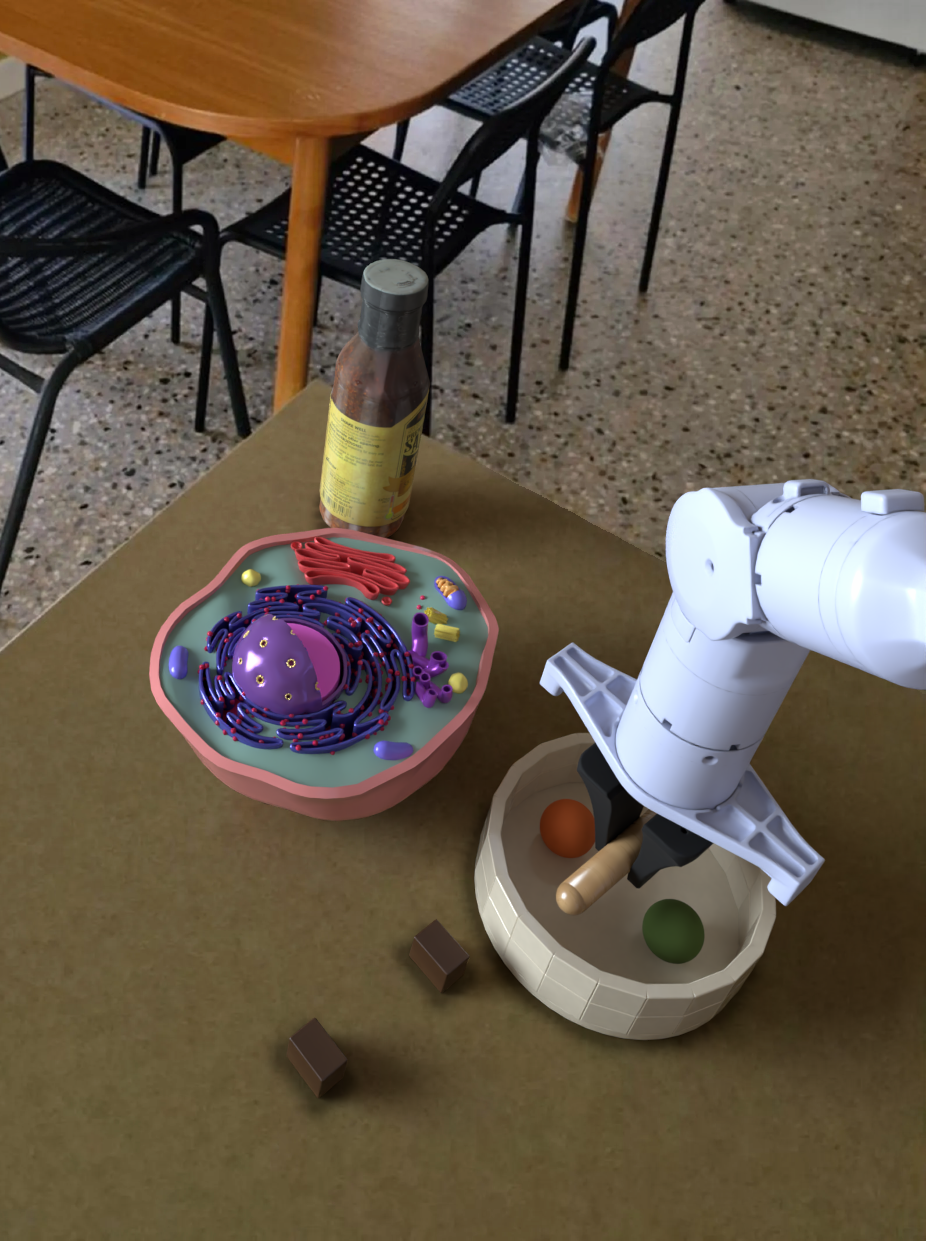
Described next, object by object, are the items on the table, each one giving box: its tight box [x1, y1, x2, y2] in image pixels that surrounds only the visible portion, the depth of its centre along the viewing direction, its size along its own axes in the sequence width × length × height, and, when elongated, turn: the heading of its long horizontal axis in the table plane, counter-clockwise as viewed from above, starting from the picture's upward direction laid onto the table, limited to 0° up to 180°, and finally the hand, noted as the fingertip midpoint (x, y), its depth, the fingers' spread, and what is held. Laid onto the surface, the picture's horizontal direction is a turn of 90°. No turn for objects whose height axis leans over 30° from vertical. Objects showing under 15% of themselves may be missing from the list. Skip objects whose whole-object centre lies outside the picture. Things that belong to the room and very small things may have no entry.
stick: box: [556, 809, 657, 915], centre depth 63 cm, size 11×2×2 cm, turn 128°
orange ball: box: [540, 799, 595, 858], centre depth 67 cm, size 3×3×3 cm
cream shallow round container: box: [473, 732, 777, 1041], centre depth 65 cm, size 14×14×4 cm
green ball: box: [642, 899, 705, 964], centre depth 63 cm, size 3×3×3 cm
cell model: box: [148, 527, 500, 822], centre depth 70 cm, size 17×20×11 cm
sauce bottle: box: [319, 258, 431, 539], centre depth 81 cm, size 7×6×20 cm
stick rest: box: [285, 918, 470, 1099], centre depth 60 cm, size 10×2×2 cm, turn 128°
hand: (628, 857), depth 64 cm, fingers closed on stick, 1 cm apart
